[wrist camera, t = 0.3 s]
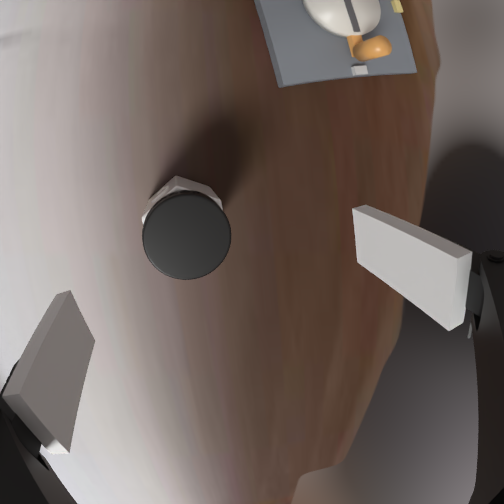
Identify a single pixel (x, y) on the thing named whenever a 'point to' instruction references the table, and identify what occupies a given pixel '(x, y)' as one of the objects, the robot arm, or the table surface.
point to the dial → (351, 24)
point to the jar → (185, 230)
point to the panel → (328, 45)
